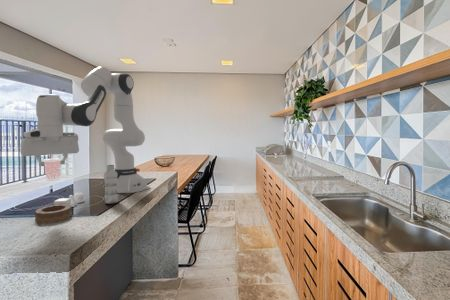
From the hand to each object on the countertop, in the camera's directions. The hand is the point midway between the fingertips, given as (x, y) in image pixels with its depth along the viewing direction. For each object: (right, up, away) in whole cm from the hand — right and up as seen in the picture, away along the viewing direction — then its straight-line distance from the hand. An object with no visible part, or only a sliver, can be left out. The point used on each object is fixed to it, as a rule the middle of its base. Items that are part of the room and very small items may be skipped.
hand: (52, 165), depth 104 cm
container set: (-4, -22, +19) cm, 29 cm away
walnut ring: (0, -23, +2) cm, 23 cm away
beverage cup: (0, -7, 0) cm, 7 cm away
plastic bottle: (+15, -22, +23) cm, 35 cm away
